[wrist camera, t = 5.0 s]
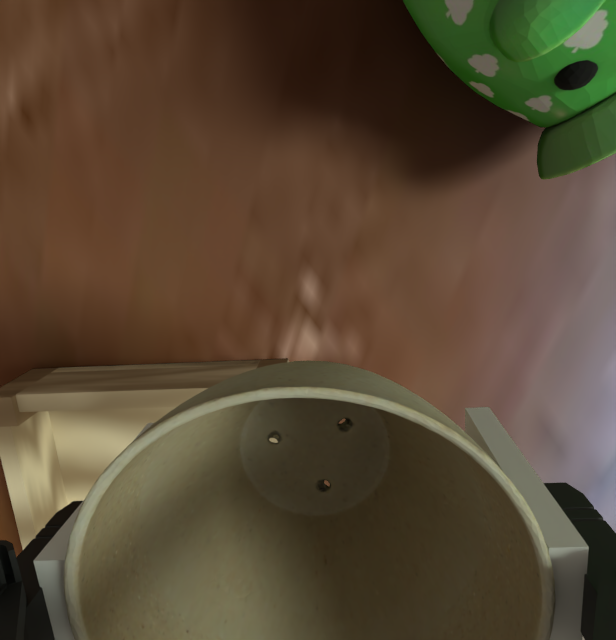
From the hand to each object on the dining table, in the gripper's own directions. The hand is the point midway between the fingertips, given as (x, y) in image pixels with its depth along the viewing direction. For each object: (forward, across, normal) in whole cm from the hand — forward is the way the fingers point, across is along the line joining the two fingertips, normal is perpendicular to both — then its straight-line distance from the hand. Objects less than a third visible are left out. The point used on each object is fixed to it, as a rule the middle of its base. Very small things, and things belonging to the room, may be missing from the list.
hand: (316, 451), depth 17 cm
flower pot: (+1, 0, 0) cm, 1 cm away
